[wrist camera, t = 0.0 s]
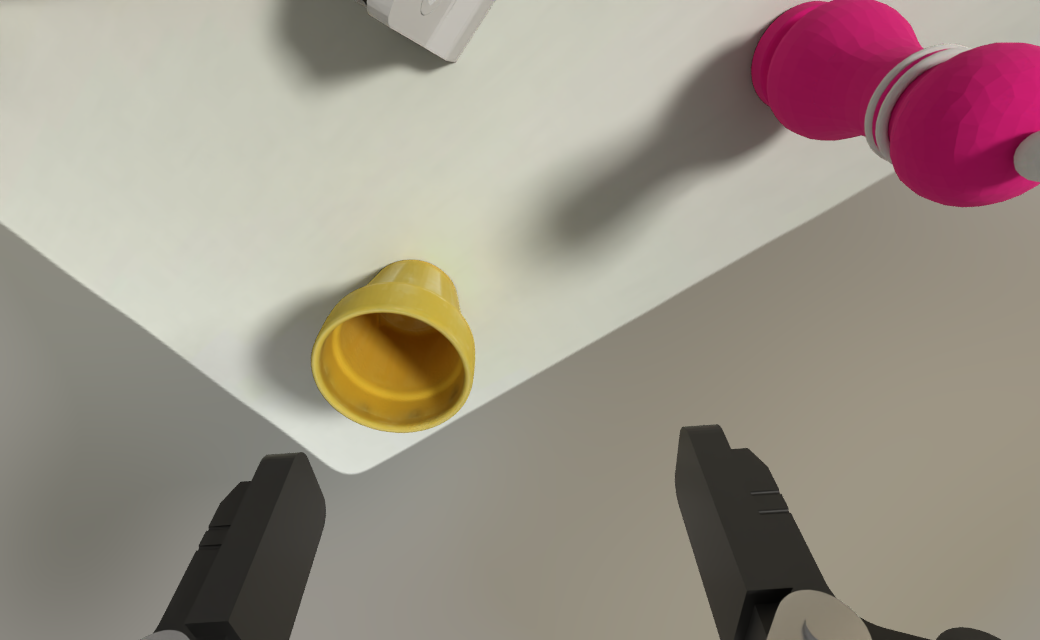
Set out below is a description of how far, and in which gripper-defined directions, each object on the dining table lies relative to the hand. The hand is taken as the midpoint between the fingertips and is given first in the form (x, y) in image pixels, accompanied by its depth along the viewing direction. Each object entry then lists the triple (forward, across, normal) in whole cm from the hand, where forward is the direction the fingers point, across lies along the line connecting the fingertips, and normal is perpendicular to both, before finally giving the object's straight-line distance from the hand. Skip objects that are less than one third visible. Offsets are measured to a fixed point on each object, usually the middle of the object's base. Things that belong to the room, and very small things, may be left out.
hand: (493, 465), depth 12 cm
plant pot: (+30, +8, +13) cm, 33 cm away
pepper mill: (+30, -19, -2) cm, 35 cm away
